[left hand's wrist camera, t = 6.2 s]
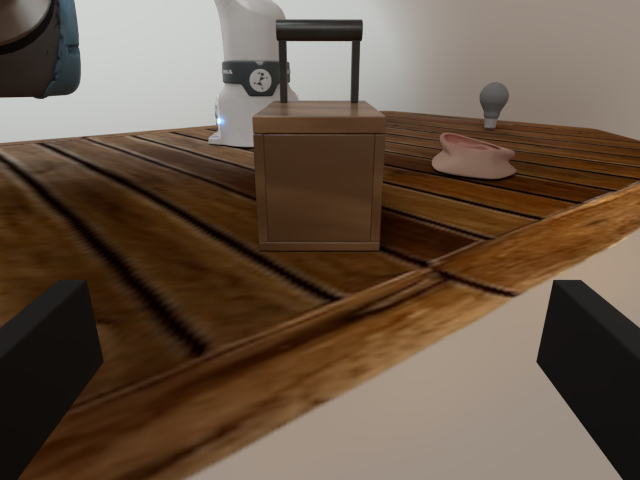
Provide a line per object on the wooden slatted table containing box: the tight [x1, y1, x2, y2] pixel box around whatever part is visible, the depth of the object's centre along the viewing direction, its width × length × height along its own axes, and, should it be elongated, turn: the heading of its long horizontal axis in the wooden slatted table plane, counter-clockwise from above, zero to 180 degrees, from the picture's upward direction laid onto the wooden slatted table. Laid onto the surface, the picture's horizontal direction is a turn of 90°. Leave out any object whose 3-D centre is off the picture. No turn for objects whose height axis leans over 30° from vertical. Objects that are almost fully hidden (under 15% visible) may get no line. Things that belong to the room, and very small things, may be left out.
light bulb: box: [480, 82, 509, 129], centre depth 100 cm, size 6×6×10 cm
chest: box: [253, 133, 385, 251], centre depth 40 cm, size 15×9×9 cm, turn 0°
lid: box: [252, 20, 386, 133], centre depth 37 cm, size 16×9×8 cm, turn 0°
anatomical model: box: [432, 133, 516, 179], centre depth 62 cm, size 13×4×12 cm
